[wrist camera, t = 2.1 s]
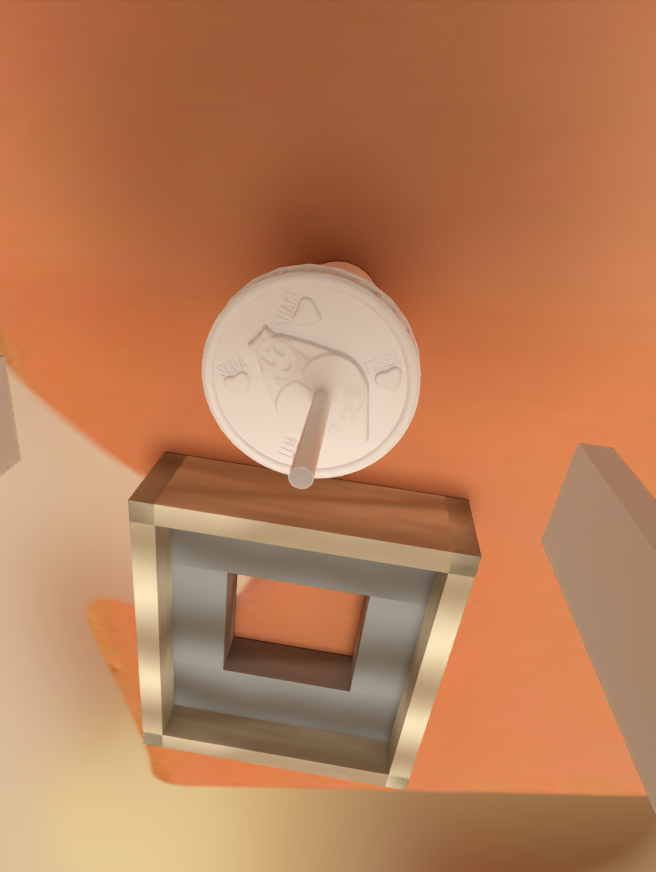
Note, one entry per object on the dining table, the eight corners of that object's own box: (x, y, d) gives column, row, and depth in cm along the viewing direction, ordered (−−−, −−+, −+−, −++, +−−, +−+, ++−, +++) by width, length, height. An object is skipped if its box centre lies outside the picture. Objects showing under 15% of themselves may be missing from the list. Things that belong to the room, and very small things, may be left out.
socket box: (164, 452, 28) (128, 499, 24) (468, 500, 28) (481, 556, 24) (170, 680, 37) (143, 743, 33) (403, 720, 36) (405, 790, 32)
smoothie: (338, 398, 26) (291, 617, 14) (237, 303, 24) (79, 454, 12) (441, 305, 23) (499, 469, 11) (336, 192, 22) (267, 236, 9)
